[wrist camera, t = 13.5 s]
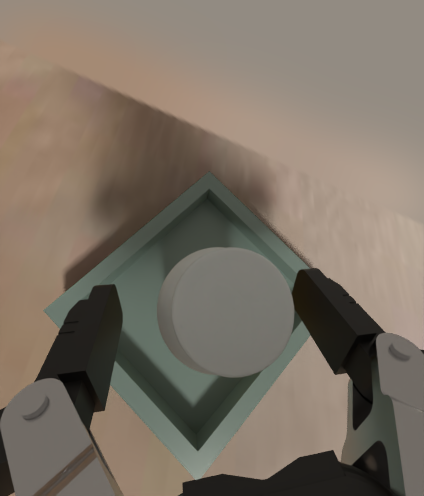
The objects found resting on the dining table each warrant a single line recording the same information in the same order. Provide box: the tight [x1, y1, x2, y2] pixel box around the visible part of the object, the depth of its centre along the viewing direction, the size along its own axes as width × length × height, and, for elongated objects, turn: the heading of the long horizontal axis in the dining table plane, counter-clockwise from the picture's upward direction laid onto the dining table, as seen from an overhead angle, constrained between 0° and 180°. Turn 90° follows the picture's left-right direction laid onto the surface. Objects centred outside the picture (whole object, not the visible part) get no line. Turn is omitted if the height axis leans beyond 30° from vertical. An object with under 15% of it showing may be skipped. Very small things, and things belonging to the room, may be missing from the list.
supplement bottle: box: [157, 247, 294, 378], centre depth 12 cm, size 5×5×10 cm
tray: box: [43, 171, 310, 480], centre depth 16 cm, size 14×13×2 cm
